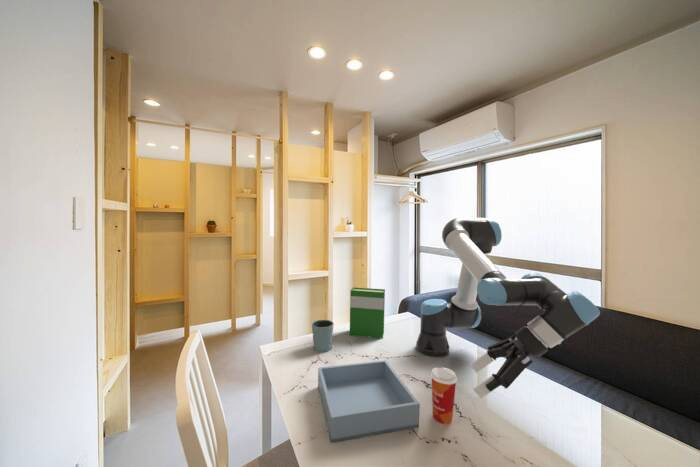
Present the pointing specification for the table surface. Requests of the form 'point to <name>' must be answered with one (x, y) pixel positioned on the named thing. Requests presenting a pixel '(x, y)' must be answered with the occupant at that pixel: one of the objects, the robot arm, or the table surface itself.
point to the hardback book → (367, 312)
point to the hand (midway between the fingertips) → (474, 379)
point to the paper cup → (443, 394)
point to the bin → (365, 401)
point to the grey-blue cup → (322, 335)
